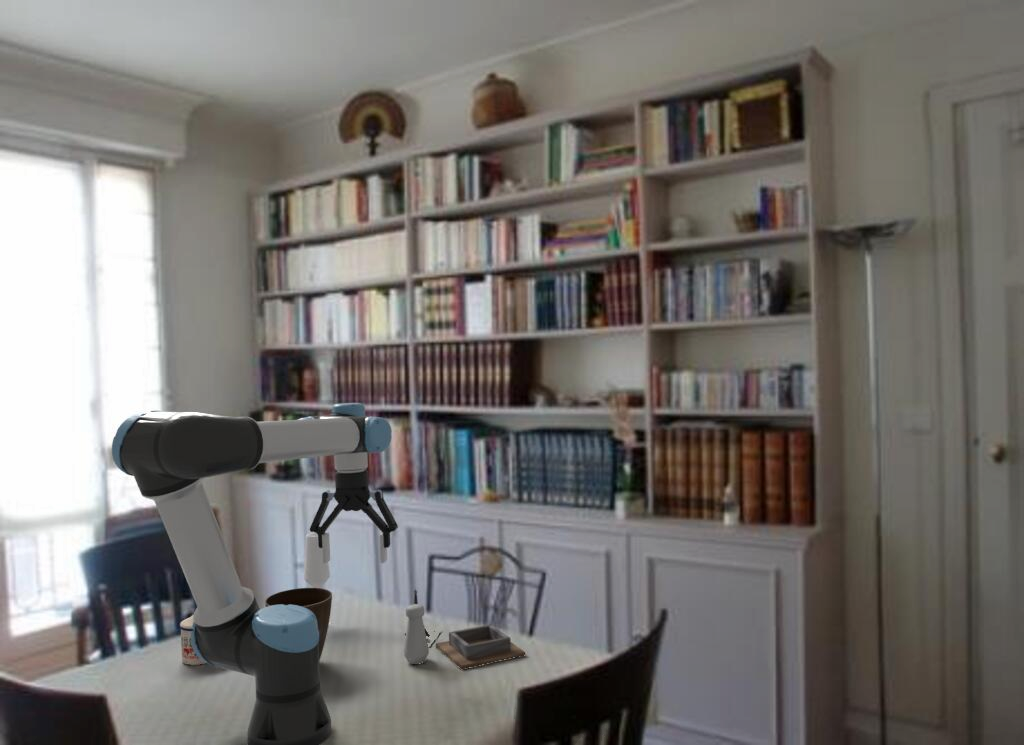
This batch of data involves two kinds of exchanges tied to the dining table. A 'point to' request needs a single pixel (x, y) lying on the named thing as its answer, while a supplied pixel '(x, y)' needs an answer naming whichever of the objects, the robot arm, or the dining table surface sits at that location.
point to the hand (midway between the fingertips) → (355, 561)
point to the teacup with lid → (188, 643)
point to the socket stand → (478, 646)
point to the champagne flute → (315, 563)
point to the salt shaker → (415, 635)
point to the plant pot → (308, 606)
